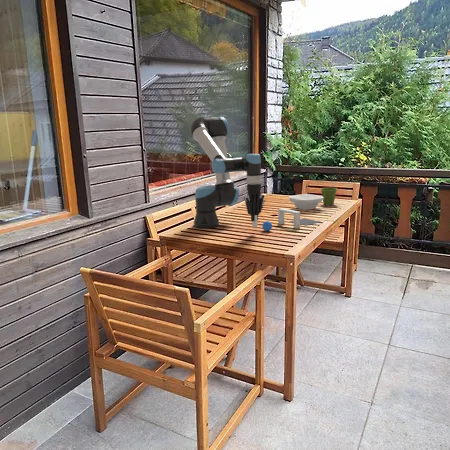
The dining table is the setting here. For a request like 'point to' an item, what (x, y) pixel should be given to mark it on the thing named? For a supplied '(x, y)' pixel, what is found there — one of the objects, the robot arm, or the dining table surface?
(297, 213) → the bridge
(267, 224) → the ball
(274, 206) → the dining table surface
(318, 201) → the bowl
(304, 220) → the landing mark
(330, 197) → the plant pot
